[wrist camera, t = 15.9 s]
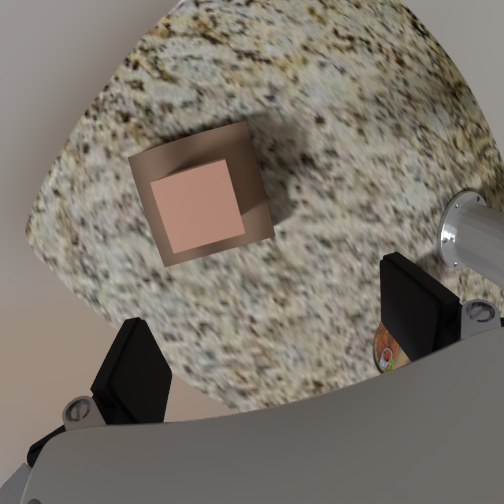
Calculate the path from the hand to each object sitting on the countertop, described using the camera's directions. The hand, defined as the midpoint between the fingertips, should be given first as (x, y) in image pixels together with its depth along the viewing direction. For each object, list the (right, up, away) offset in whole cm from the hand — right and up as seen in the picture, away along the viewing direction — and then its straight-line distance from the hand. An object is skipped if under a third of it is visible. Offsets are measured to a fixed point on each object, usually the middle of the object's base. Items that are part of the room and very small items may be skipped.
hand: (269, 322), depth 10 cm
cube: (-5, +8, +17) cm, 19 cm away
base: (-6, +9, +20) cm, 22 cm away
